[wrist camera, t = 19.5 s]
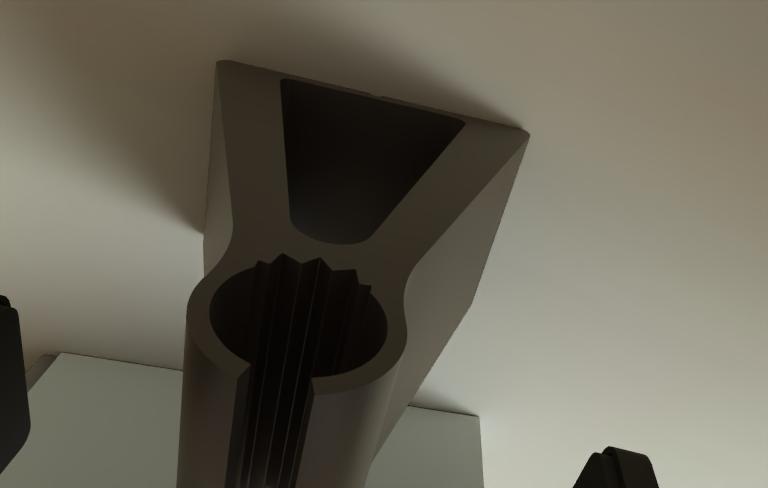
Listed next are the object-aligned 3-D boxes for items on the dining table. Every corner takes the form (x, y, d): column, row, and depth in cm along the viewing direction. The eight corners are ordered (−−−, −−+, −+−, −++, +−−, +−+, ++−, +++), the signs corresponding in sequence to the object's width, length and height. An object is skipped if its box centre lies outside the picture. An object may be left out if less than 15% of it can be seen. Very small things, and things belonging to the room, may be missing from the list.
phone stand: (530, 130, 18) (649, 468, 7) (470, 297, 21) (495, 705, 10) (221, 56, 17) (-108, 298, 7) (206, 236, 20) (-41, 592, 10)
